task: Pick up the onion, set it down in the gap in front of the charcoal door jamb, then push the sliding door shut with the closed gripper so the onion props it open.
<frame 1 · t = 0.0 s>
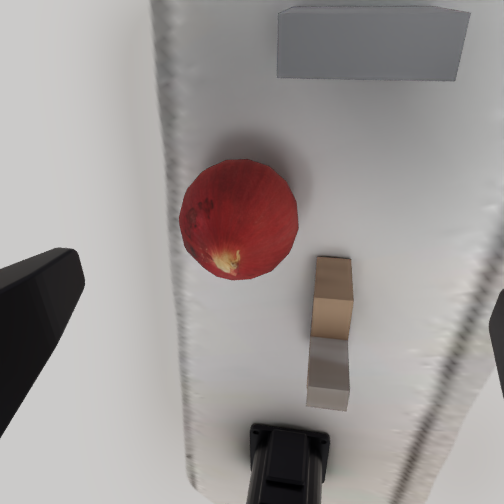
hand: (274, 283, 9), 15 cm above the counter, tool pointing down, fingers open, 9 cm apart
onion: (251, 188, 24), on the counter
jamb: (358, 32, 19), on the counter
door: (328, 345, 24), point 4 cm above the counter, slide at 0.0 cm
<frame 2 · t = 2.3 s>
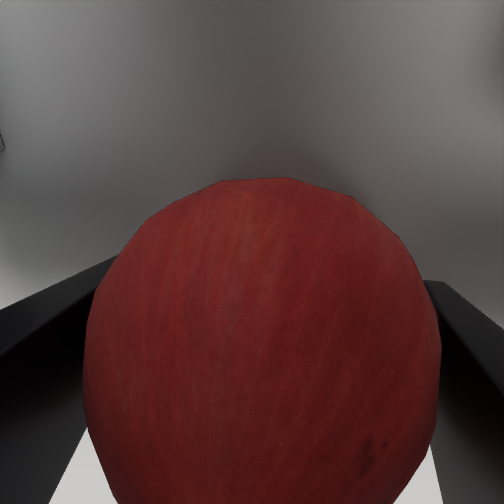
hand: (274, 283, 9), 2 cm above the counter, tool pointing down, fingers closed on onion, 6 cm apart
onion: (283, 237, 11), on the counter, touching gripper
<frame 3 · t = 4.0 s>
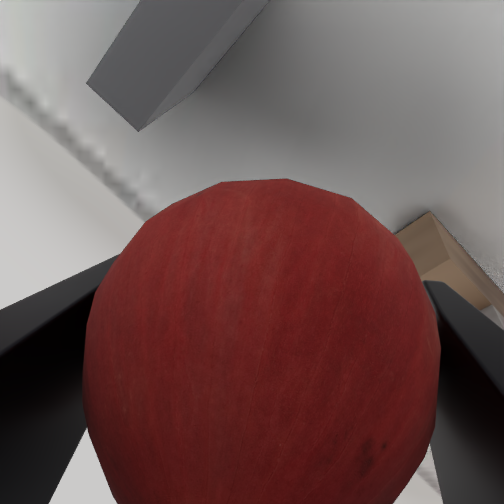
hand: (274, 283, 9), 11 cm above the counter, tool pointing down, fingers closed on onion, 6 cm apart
onion: (283, 238, 11), point 9 cm above the counter, touching gripper
jamb: (220, 17, 16), on the counter
door: (477, 323, 17), point 4 cm above the counter, slide at 0.0 cm
when the fingers open (3 cm above the counter, at t = 5.9 s): onion drops 1 cm, on the counter.
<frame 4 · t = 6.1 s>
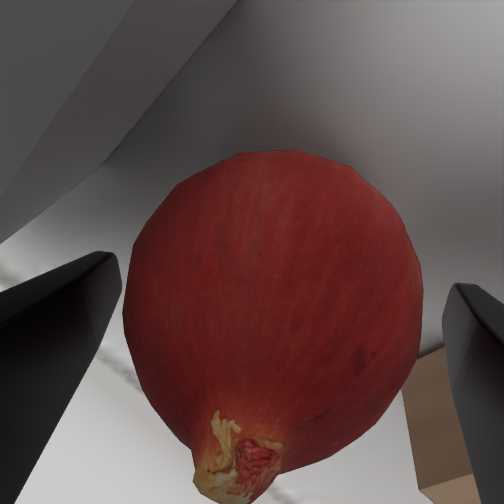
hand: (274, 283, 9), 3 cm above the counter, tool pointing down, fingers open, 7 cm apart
onion: (289, 212, 12), on the counter
jamb: (132, 58, 10), on the counter
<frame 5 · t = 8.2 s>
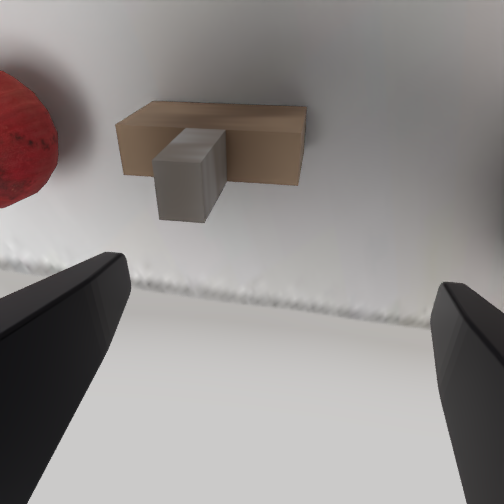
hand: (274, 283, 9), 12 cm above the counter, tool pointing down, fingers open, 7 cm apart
onion: (35, 115, 21), on the counter
door: (208, 153, 16), point 4 cm above the counter, slide at 0.0 cm
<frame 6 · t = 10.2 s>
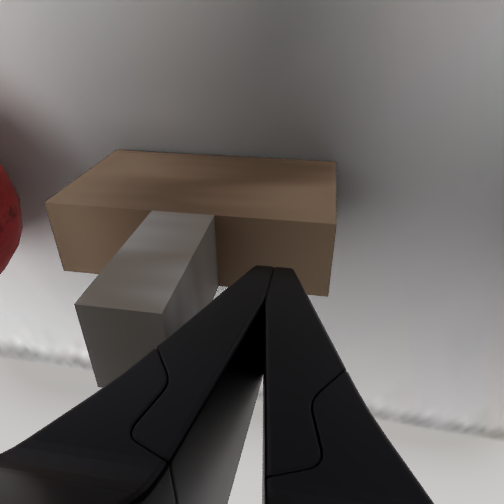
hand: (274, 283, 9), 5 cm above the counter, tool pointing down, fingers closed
door: (189, 244, 10), point 4 cm above the counter, slide at 1.4 cm, touching gripper
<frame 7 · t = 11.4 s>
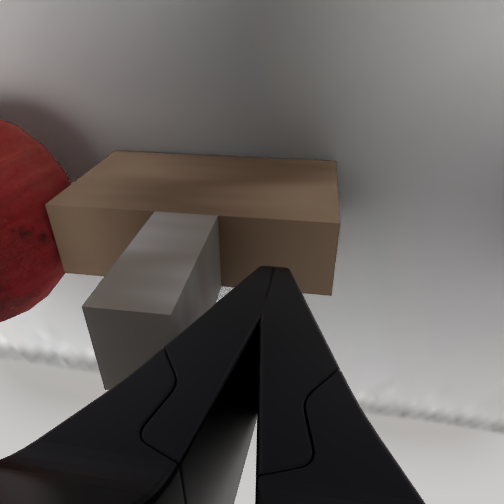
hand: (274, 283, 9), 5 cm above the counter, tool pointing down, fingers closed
onion: (44, 169, 15), on the counter, touching door, jamb
door: (192, 245, 10), point 4 cm above the counter, slide at 5.1 cm, touching gripper, onion
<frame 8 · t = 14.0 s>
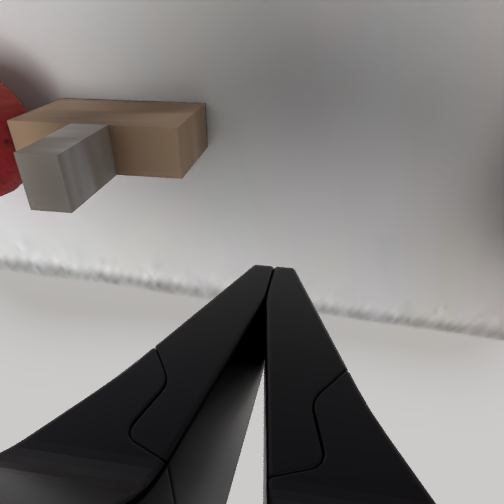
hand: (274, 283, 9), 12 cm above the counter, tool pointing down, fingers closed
onion: (16, 113, 21), on the counter
door: (97, 147, 17), point 4 cm above the counter, slide at 5.1 cm
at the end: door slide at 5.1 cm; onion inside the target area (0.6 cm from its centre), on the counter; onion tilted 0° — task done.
